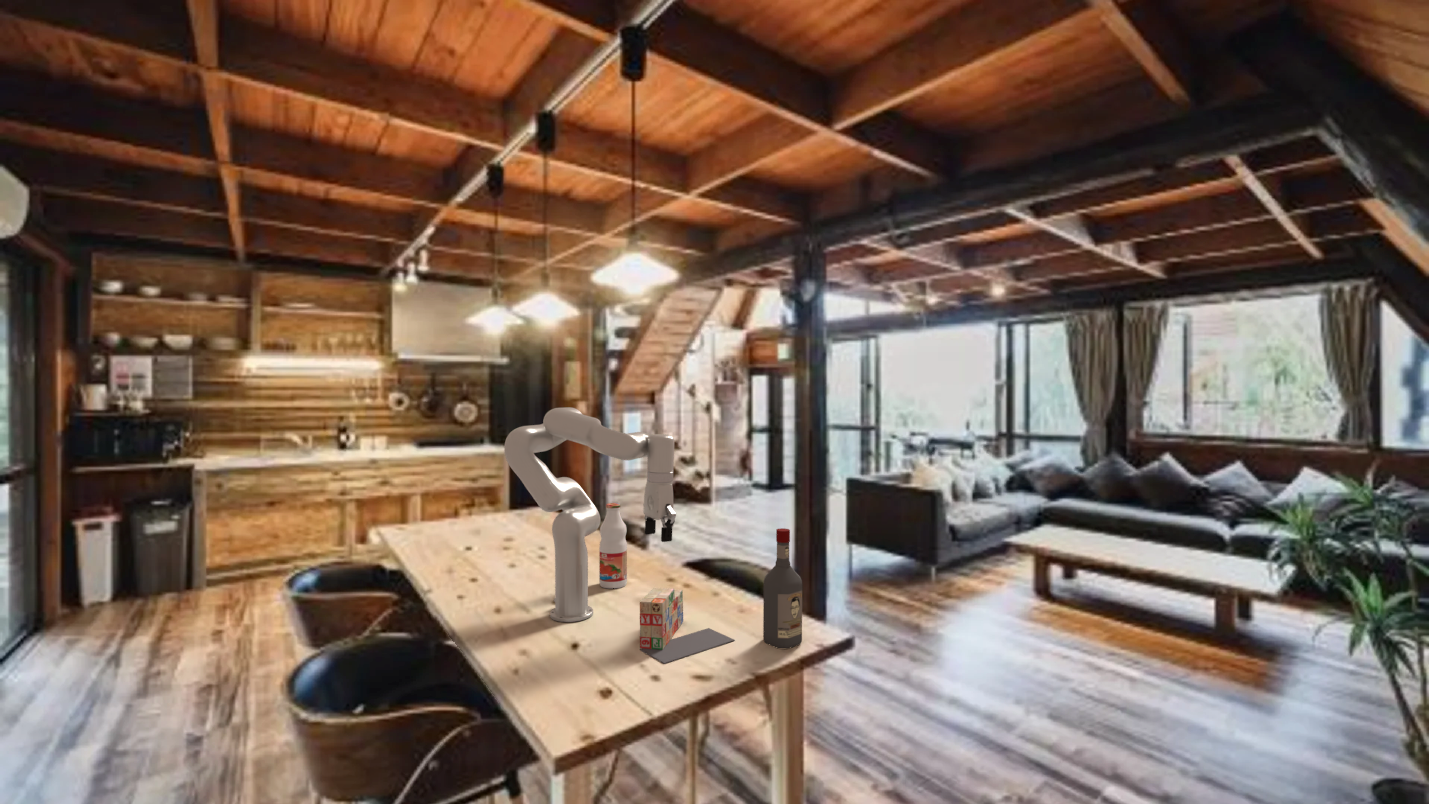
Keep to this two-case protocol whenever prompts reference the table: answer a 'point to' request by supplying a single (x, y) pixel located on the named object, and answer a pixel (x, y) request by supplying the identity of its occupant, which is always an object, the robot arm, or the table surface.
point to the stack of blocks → (660, 617)
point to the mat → (688, 645)
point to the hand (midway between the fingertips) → (658, 537)
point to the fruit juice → (613, 549)
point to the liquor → (782, 599)
